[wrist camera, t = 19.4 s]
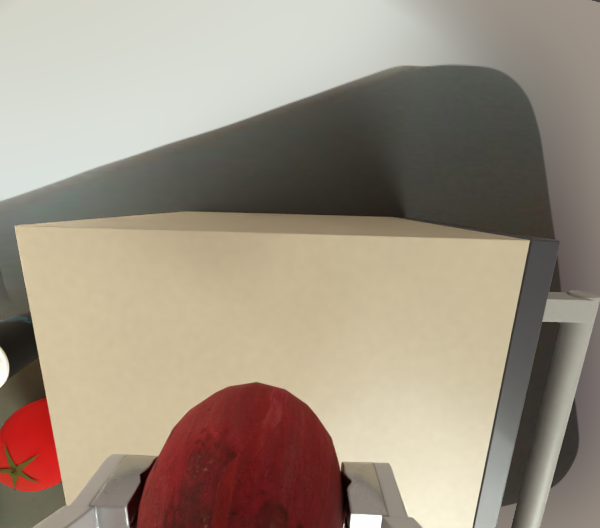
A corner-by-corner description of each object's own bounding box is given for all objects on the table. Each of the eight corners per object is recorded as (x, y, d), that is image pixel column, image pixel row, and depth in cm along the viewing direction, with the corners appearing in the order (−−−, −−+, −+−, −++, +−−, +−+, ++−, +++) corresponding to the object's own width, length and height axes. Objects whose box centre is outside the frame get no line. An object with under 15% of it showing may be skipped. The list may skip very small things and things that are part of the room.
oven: (393, 216, 39) (530, 240, 15) (373, 418, 46) (448, 648, 22) (188, 211, 39) (13, 225, 15) (199, 413, 46) (90, 636, 22)
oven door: (449, 218, 39) (668, 243, 15) (421, 421, 45) (544, 649, 22) (395, 217, 39) (531, 239, 15) (375, 419, 45) (449, 645, 22)
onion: (180, 357, 12) (-61, 660, 4) (316, 330, 11) (342, 604, 4) (218, 470, 13) (90, 872, 5) (342, 448, 13) (404, 844, 5)
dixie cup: (56, 287, 41) (-30, 317, 31) (92, 330, 43) (21, 374, 32) (16, 314, 42) (-81, 352, 32) (52, 355, 44) (-29, 405, 33)
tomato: (117, 394, 45) (63, 451, 35) (103, 454, 48) (48, 524, 37) (47, 372, 44) (-30, 424, 34) (36, 435, 47) (-39, 500, 37)
